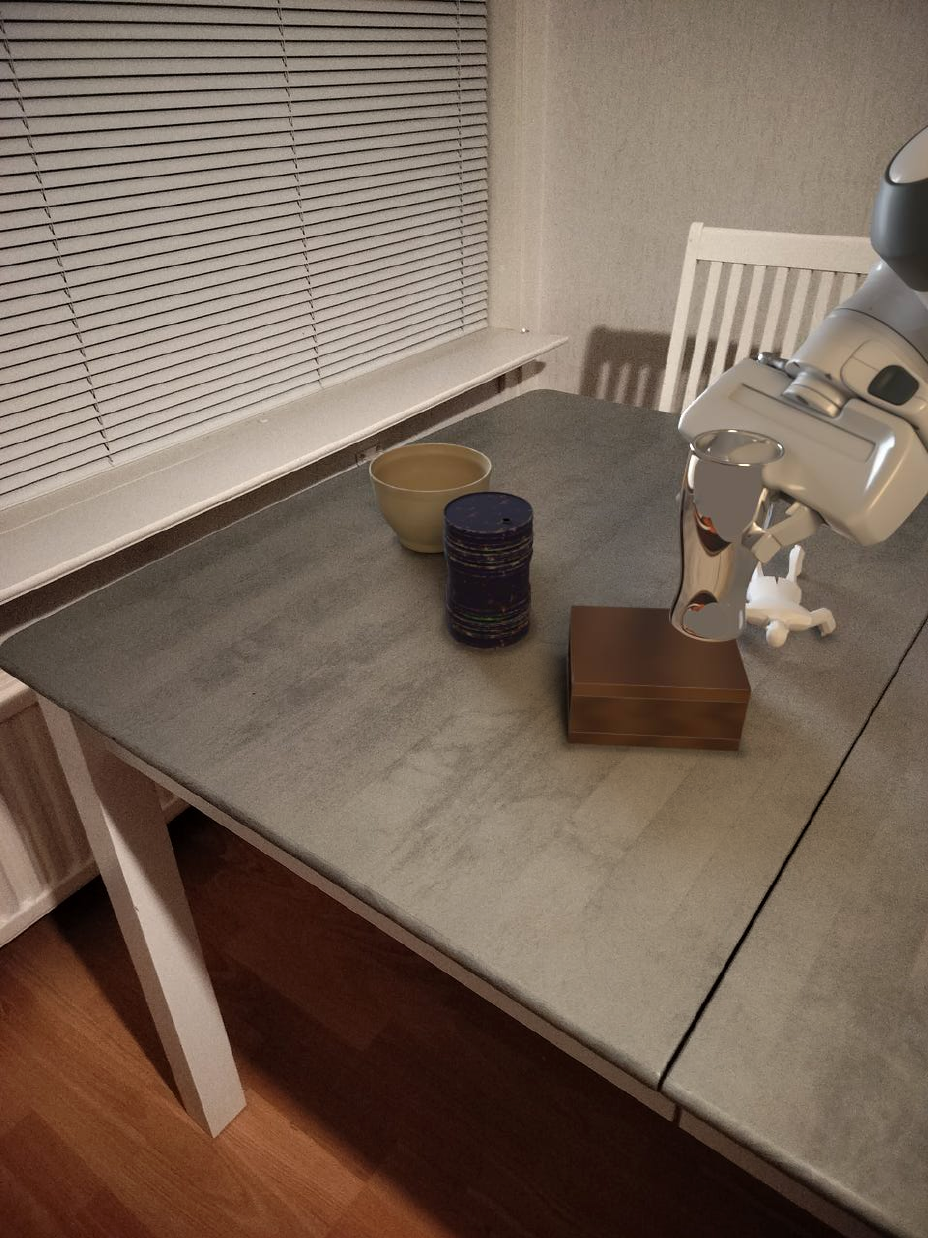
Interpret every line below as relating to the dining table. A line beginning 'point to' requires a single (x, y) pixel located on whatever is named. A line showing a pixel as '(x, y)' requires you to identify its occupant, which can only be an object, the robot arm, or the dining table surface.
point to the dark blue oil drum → (488, 568)
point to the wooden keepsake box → (651, 682)
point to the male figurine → (783, 604)
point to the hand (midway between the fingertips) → (717, 531)
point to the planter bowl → (425, 488)
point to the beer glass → (721, 531)
